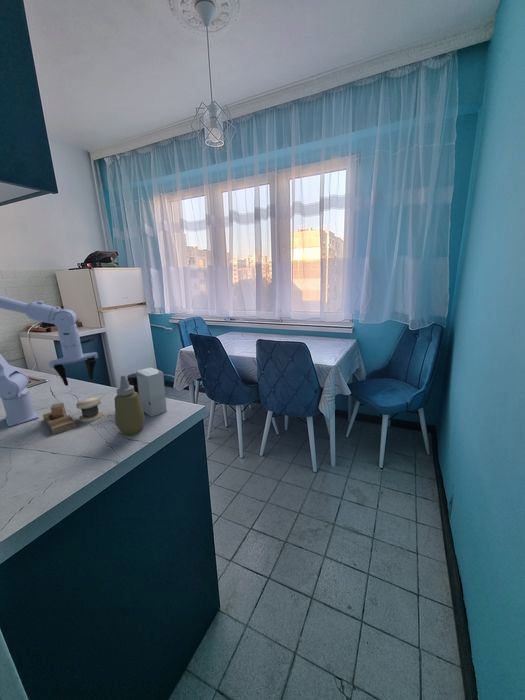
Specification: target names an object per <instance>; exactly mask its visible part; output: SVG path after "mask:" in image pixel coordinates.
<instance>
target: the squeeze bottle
mask: <svg viewBox="0 0 525 700" xmlns="http://www.w3.org/2000/svg"><path fill="white" fill-rule="evenodd" d="M127 380H128V379H127V377H126V375H125V374H124V375H121V376H120V383H119V384H120V386H118V387H117V388H116V395H115V397H113V399H114V413H115V425H116V427H117V428H118V430H119V432H120V433H121V434H122V435H123V436H125V437H129V436H130V437H131V436H135V435H137V434H139V433H141V432H142V431H143V429H144V423H145V419H146V417H145V414H144V413H145V412H143V409H142V405H141V402H140V398H139V395H138V393H137V392H135V391H134V386H133V385H129V383H128V381H127Z"/></svg>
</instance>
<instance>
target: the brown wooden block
mask: <svg viewBox="0 0 525 700" xmlns="http://www.w3.org/2000/svg"><path fill="white" fill-rule="evenodd" d="M65 411H66V409H65V405H64V402H60V403H54V404H52V405H51V406H50V412H52V416H53V420H55V419H58V418H61V417H64V416H66V415H67V411H66V412H65Z"/></svg>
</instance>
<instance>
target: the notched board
mask: <svg viewBox="0 0 525 700" xmlns="http://www.w3.org/2000/svg"><path fill="white" fill-rule="evenodd" d="M65 412H66V413H67V411H66V410H65ZM42 418H43V420H44V423H45V424H46V425H47V427H48V428H49V430H50V431H51V432H52V434H53V435H56V434H60V433H62V432H65V431H68V430H71V429H74V428H76V427H77V424H76V421H75V420H74V418H73V417H72V416H71V415H70V414H68V415H67V414H66V416H64V417H61V418H58V419H55V420H53V416H52V412H51V411H49V412H47V413H43V414H42Z"/></svg>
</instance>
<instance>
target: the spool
mask: <svg viewBox="0 0 525 700" xmlns="http://www.w3.org/2000/svg"><path fill="white" fill-rule="evenodd" d="M100 404H101V399H100V398H98V397H90V398H89V397H88V398H86V399H82V400H80V401H79V402H77V403H76V405H75V406H76V408H77V409H79V410H80V411H81V415H80V416H79V418H78V419H79V420H78V421H80V422H81V423H90V422H94V421H96V420H99V419H102V417H103V416H104V413H103V411H102V410H99V407H98V406H99V405H100Z"/></svg>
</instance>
